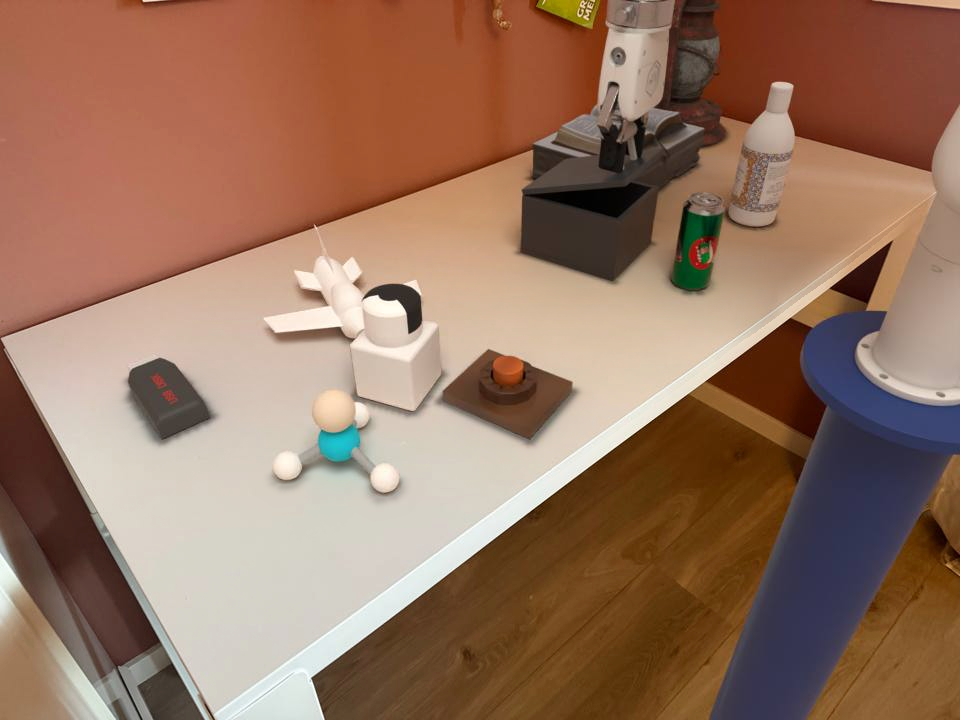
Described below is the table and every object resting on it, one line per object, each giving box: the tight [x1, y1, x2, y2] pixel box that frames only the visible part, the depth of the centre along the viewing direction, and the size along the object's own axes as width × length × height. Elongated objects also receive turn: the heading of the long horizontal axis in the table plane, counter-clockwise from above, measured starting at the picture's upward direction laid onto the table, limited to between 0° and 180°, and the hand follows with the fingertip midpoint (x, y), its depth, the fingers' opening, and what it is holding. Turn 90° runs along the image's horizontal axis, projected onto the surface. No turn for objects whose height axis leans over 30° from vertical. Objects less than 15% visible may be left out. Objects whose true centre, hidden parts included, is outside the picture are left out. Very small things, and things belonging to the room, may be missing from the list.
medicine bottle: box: [349, 283, 442, 412], centre depth 76 cm, size 7×7×12 cm
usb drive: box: [126, 353, 211, 440], centre depth 77 cm, size 5×12×3 cm, turn 39°
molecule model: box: [272, 388, 401, 493], centre depth 68 cm, size 12×12×9 cm
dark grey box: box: [520, 181, 660, 282], centre depth 101 cm, size 15×13×9 cm
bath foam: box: [728, 81, 796, 228], centre depth 104 cm, size 7×7×20 cm
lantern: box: [653, 0, 726, 148], centre depth 131 cm, size 19×19×30 cm
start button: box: [493, 355, 523, 386], centre depth 76 cm, size 3×3×2 cm
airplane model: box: [262, 224, 423, 339], centre depth 90 cm, size 20×20×8 cm
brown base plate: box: [442, 348, 573, 440], centre depth 77 cm, size 11×9×3 cm
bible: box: [531, 103, 705, 190], centre depth 122 cm, size 23×27×10 cm
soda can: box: [670, 191, 726, 291], centre depth 92 cm, size 5×5×12 cm
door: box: [521, 121, 665, 195], centre depth 95 cm, size 15×13×6 cm
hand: (620, 161), depth 93 cm, fingers open, 5 cm apart
